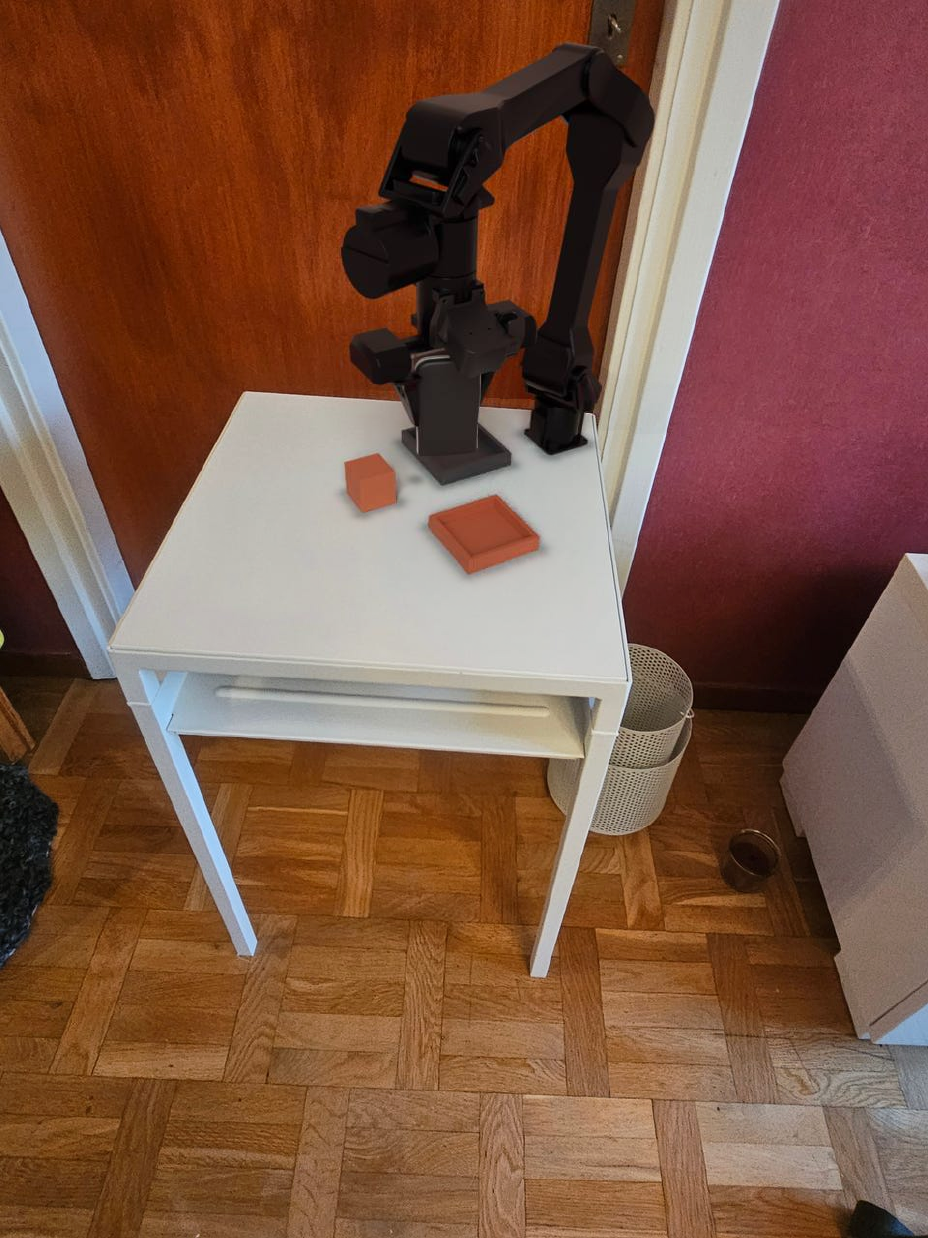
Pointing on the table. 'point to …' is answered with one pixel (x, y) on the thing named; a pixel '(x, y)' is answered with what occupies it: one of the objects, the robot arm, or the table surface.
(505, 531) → the terracotta tray
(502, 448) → the charcoal tray
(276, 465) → the table surface
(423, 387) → the battery charger
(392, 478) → the terracotta block
